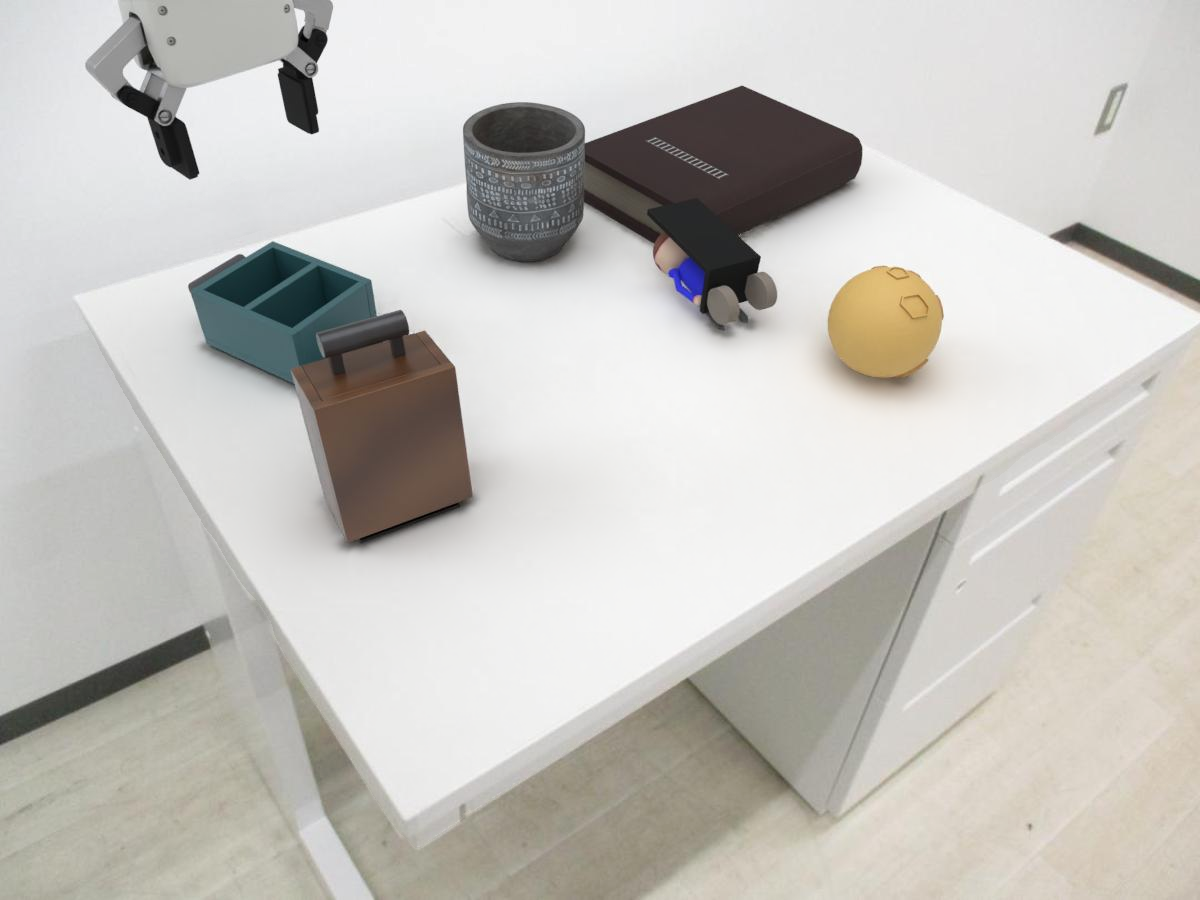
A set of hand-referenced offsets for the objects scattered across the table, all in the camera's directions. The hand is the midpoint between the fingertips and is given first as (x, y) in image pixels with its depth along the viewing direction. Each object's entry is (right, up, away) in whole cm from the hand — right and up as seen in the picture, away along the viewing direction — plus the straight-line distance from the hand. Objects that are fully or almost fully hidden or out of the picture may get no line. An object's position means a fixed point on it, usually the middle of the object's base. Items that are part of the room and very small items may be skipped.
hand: (246, 148), depth 68 cm
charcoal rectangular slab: (+9, -25, +6) cm, 28 cm away
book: (+39, +9, +44) cm, 60 cm away
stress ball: (+51, -14, +21) cm, 56 cm away
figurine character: (+36, -6, +28) cm, 46 cm away
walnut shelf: (+11, -21, -1) cm, 24 cm away
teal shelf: (-4, -11, +21) cm, 24 cm away
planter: (+17, +1, +35) cm, 39 cm away
